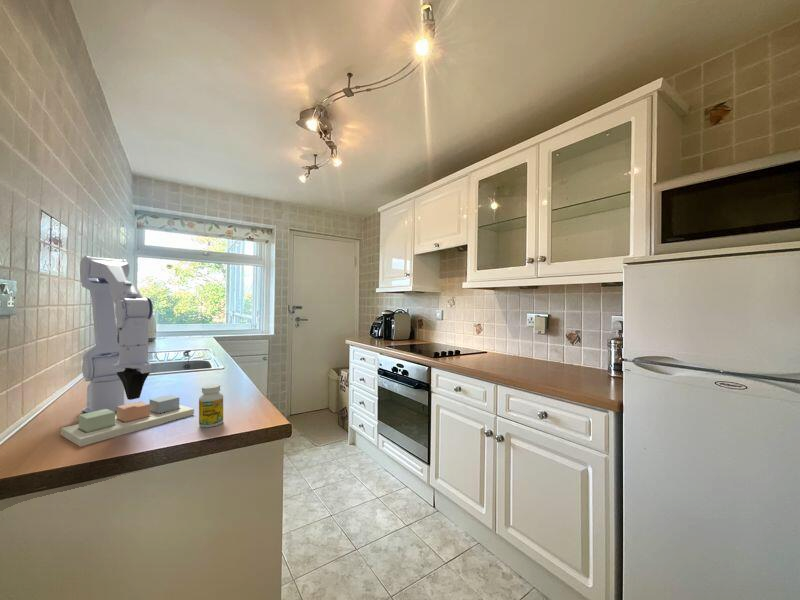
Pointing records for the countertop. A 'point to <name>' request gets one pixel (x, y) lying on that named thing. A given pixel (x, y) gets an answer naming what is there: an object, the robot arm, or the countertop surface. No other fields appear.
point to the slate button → (164, 404)
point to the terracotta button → (133, 411)
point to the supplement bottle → (210, 406)
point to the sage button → (96, 420)
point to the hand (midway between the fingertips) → (133, 398)
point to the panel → (122, 426)
